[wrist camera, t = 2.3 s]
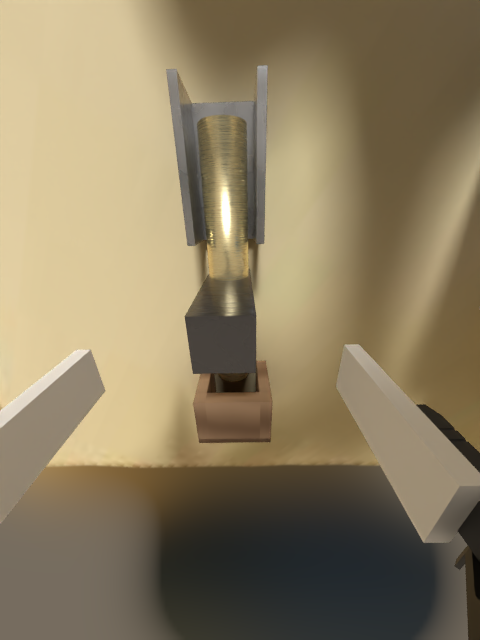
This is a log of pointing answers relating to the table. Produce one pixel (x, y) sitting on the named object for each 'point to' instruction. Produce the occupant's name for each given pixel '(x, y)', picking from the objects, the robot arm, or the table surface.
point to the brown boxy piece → (234, 411)
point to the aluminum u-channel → (189, 159)
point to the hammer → (224, 256)
